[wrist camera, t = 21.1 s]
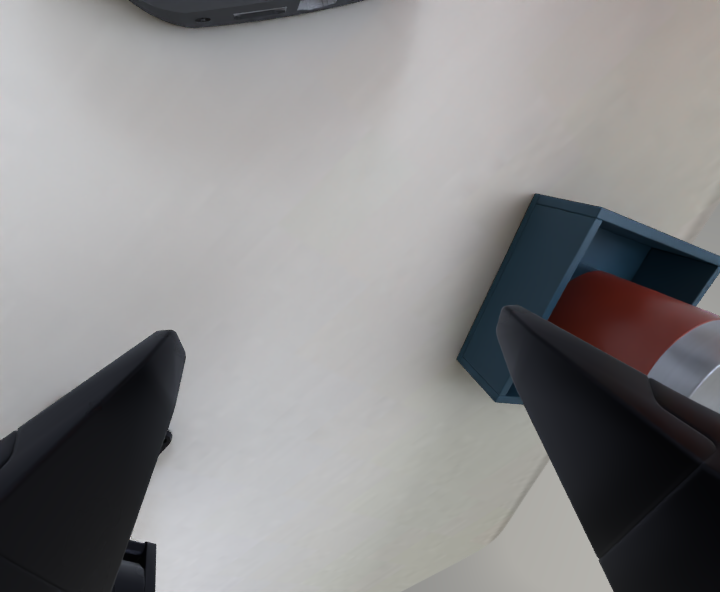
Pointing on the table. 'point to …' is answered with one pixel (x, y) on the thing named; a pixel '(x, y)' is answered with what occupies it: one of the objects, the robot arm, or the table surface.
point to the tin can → (645, 331)
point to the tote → (558, 263)
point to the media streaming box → (230, 10)
